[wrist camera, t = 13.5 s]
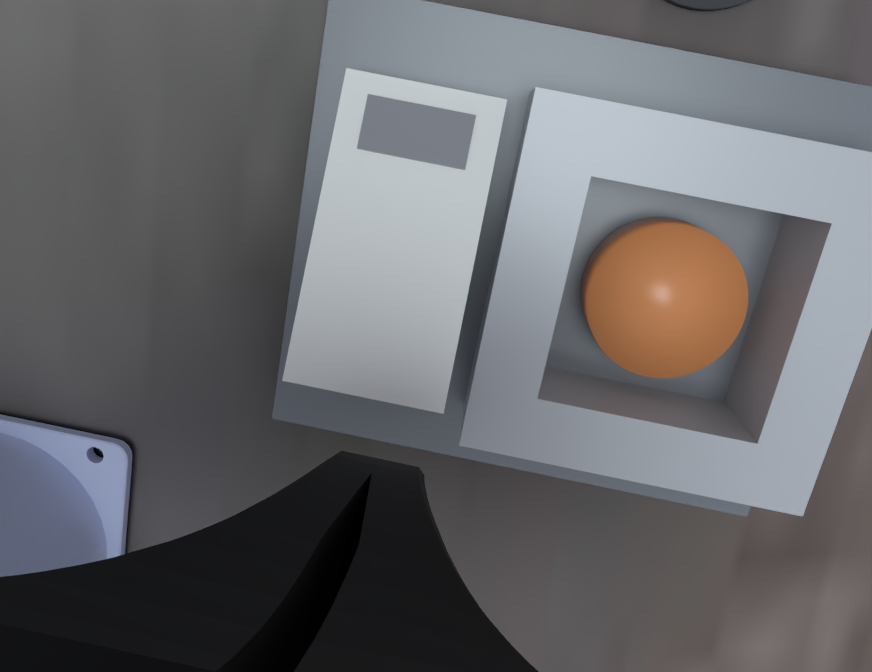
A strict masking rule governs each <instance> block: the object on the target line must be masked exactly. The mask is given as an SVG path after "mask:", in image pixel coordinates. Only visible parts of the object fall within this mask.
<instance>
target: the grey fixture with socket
mask: <svg viewBox="0 0 872 672" xmlns="http://www.w3.org/2000/svg"><path fill="white" fill-rule="evenodd" d="M346 68H349V69H354V70H359V71H365V72H370V73H375V74H380V75H385V76H390V77H395V78H400V79H406V80H411V81H416V82H421V83H426V84H431V85H436V86H441V87H447V88H452V89H457V90H462V91H467V92H472V93H477V94H482V95H488V96H493V97H498V98H503V99H507V104H506V109H505V114H504V118H503V123H502V128H501V133H500V138H499V143H498V148H497V153H496V158H495V163H494V168H493V173H492V178H491V182H490V187H489V192H488V197H487V202H486V207H485V212H484V217H483V222H482V227H481V232H480V237H479V242H478V247H477V251H476V256H475V261H474V266H473V271H472V276H471V281H470V286H469V291H468V296H467V301H466V306H465V311H464V315H463V320H462V325H461V330H460V335H459V340H458V345H457V350H456V355H455V360H454V365H453V370H452V375H451V380H450V384H449V389H448V394H447V399H446V404H445V409H444V414H442V413H437V412H432V411H427V410H422V409H417V408H413V407H408V406H403V405H398V404H393V403H388V402H383V401H378V400H374V399H369V398H364V397H359V396H354V395H349V394H344V393H340V392H335V391H330V390H325V389H320V388H315V387H310V386H305V385H301V384H296V383H291V382H286V381H282V379H283V374H284V369H285V364H286V359H287V355H288V350H289V345H290V340H291V335H292V330H293V325H294V320H295V316H296V311H297V306H298V301H299V296H300V291H301V286H302V281H303V277H304V272H305V267H306V262H307V257H308V252H309V247H310V242H311V238H312V233H313V228H314V223H315V218H316V213H317V208H318V203H319V199H320V194H321V189H322V184H323V179H324V174H325V169H326V164H327V159H328V155H329V150H330V145H331V140H332V135H333V130H334V125H335V120H336V116H337V111H338V106H339V101H340V96H341V91H342V86H343V81H344V77H345V72H346ZM652 217H668V218H675V219H679V220H682V221H685V222H688V223H690V224H693V225H695V226H697V227H698V228H700V229H702V230H704V231H706V232H708V233H710V234H711V235H713V236H715V237H716V238H718V239H719V240H720V241H722V242H723V243H724V244H725V245H726V246H727V247H728V248H729V249H730V250H731V251H732V252H733V253H734V255H735V256H736V258H737V259H738V260H739V262H740V264H741V266H742V268H743V271H744V274H745V277H746V281H747V286H748V308H747V313H746V317H745V320H744V323H743V325H742V328H741V330H740V332H739V334H738V336H737V337H736V339H735V340H734V342H733V343H732V344H731V346H730V347H729V348H728V349H727V350H726V351H725V352H724V354H722V355H721V356H720V357H719V358H718V359H717V360H715V361H714V362H712V363H711V364H709V365H708V366H706V367H704V368H702V369H700V370H698V371H696V372H693V373H691V374H688V375H684V376H680V377H674V378H652V377H645V376H642V375H638V374H635V373H633V372H630V371H628V370H626V369H624V368H622V367H621V366H619V365H618V364H616V363H615V362H614V361H612V360H611V359H610V358H609V357H608V356H607V355H606V354H605V353H604V352H603V350H602V349H601V348H600V346H599V345H598V343H597V342H596V340H595V338H594V336H593V334H592V332H591V329H590V327H589V325H588V323H587V320H586V318H585V315H584V312H583V308H582V304H581V283H582V277H583V274H584V270H585V267H586V265H587V263H588V261H589V259H590V257H591V255H592V254H593V252H594V251H595V249H596V248H597V247H598V246H599V245H600V243H601V242H602V241H603V240H604V239H605V238H607V237H608V236H609V235H610V234H611V233H613V232H614V231H616V230H617V229H619V228H621V227H622V226H624V225H626V224H629V223H631V222H634V221H637V220H641V219H645V218H652ZM871 329H872V87H870V86H865V85H860V84H855V83H849V82H844V81H839V80H834V79H829V78H823V77H818V76H813V75H808V74H803V73H797V72H792V71H787V70H782V69H777V68H771V67H766V66H761V65H756V64H751V63H745V62H740V61H735V60H730V59H725V58H719V57H714V56H709V55H704V54H699V53H693V52H688V51H683V50H678V49H673V48H667V47H662V46H657V45H652V44H647V43H642V42H636V41H631V40H626V39H621V38H616V37H610V36H605V35H600V34H595V33H590V32H584V31H579V30H574V29H569V28H564V27H558V26H553V25H548V24H543V23H538V22H532V21H527V20H522V19H517V18H512V17H506V16H501V15H496V14H491V13H486V12H480V11H475V10H470V9H465V8H460V7H454V6H449V5H444V4H439V3H434V2H428V1H423V0H329V1H328V8H327V16H326V23H325V31H324V38H323V45H322V53H321V60H320V67H319V75H318V82H317V90H316V97H315V104H314V112H313V119H312V126H311V134H310V141H309V149H308V156H307V163H306V171H305V178H304V185H303V193H302V200H301V208H300V215H299V222H298V230H297V237H296V245H295V252H294V259H293V267H292V274H291V281H290V289H289V296H288V304H287V311H286V318H285V326H284V333H283V340H282V348H281V355H280V363H279V370H278V377H277V385H276V392H275V399H274V407H273V414H272V419H276V420H281V421H286V422H290V423H295V424H300V425H305V426H310V427H315V428H319V429H324V430H329V431H334V432H339V433H344V434H348V435H353V436H358V437H363V438H368V439H373V440H377V441H382V442H387V443H392V444H397V445H402V446H406V447H411V448H416V449H421V450H426V451H431V452H436V453H440V454H445V455H450V456H455V457H460V458H465V459H469V460H474V461H479V462H484V463H489V464H494V465H498V466H503V467H508V468H513V469H518V470H523V471H527V472H532V473H537V474H542V475H547V476H552V477H556V478H561V479H566V480H571V481H576V482H581V483H585V484H590V485H595V486H600V487H605V488H610V489H614V490H619V491H624V492H629V493H634V494H639V495H643V496H648V497H653V498H658V499H663V500H668V501H673V502H677V503H682V504H687V505H692V506H697V507H702V508H706V509H711V510H716V511H721V512H726V513H731V514H735V515H740V516H745V517H747V516H748V513H749V510H750V507H751V506H754V507H759V508H764V509H769V510H774V511H779V512H784V513H788V514H793V515H798V516H803V514H804V511H805V509H806V506H807V503H808V500H809V498H810V495H811V492H812V490H813V487H814V484H815V481H816V479H817V476H818V473H819V470H820V468H821V465H822V462H823V460H824V457H825V454H826V451H827V449H828V446H829V443H830V440H831V438H832V435H833V432H834V430H835V427H836V424H837V421H838V419H839V416H840V413H841V410H842V408H843V405H844V402H845V400H846V397H847V394H848V391H849V389H850V386H851V383H852V380H853V378H854V375H855V372H856V370H857V367H858V364H859V361H860V359H861V356H862V353H863V350H864V348H865V345H866V342H867V339H868V337H869V334H870V331H871Z"/></svg>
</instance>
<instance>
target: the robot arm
mask: <svg viewBox="0 0 872 672" xmlns="http://www.w3.org/2000/svg"><path fill="white" fill-rule="evenodd" d="M93 447H96V448H99V449H100V450H101V451H102V452H103V456H104V457H99V456H97V455H96V454H95V453H94V450H93ZM131 470H132V451H131V449H130V447H129V445H128V444H126V443H125V442H124V441H122V440H119V439H116V438H111V437H107V436H102V435H97V434H92V433H87V432H83V431H78V430H73V429H68V428H63V427H59V426H54V425H49V424H44V423H39V422H35V421H30V420H25V419H20V418H15V417H11V416H6V415H1V414H0V672H538V671H537V670H536V669H535V668H534V667H533V666H532V665H530V664H529V663H528V662H527V661H526V660H525V659H524V658H523V657H522V656H521V655H520V654H519V653H518V651H517V650H516V649H515V648H514V647H513V646H512V645H511V644H510V643H509V642H508V641H507V640H506V639H505V637H504V636H503V635H502V634H501V633H500V632H499V630H498V629H497V628H496V627H495V626H494V625H493V624H492V622H491V621H490V620H489V619H488V618H487V616H486V615H485V614H484V612H483V611H482V610H481V609H480V607H479V606H478V604H477V603H476V601H475V600H474V598H473V597H472V595H471V594H470V592H469V590H468V589H467V587H466V586H465V584H464V582H463V580H462V579H461V577H460V575H459V573H458V572H457V570H456V568H455V566H454V564H453V562H452V560H451V558H450V556H449V554H448V552H447V550H446V547H445V545H444V543H443V541H442V538H441V536H440V533H439V531H438V528H437V526H436V523H435V520H434V518H433V515H432V512H431V509H430V505H429V502H428V498H427V494H426V490H425V484H424V474H423V473H422V471H421V470H420V468H419V467H415V466H410V465H406V464H401V463H396V462H391V461H387V460H382V459H377V458H372V457H368V456H363V455H358V454H353V453H349V452H344V451H341V452H339V453H338V454H336V455H334V456H333V457H331V458H330V459H328V460H326V461H325V462H323V463H322V464H320V465H319V466H317V467H316V468H315V469H313V470H312V471H310V472H309V473H307V474H306V475H304V476H303V477H301V478H299V479H298V480H296V481H295V482H293V483H292V484H290V485H288V486H287V487H285V488H283V489H282V490H280V491H279V492H277V493H275V494H274V495H272V496H270V497H268V498H266V499H265V500H263V501H261V502H259V503H257V504H255V505H253V506H251V507H250V508H248V509H246V510H244V511H242V512H240V513H238V514H236V515H234V516H232V517H230V518H228V519H226V520H223V521H221V522H219V523H216V524H214V525H212V526H209V527H207V528H204V529H202V530H199V531H196V532H194V533H191V534H189V535H186V536H183V537H181V538H178V539H175V540H172V541H169V542H165V543H162V544H158V545H155V546H151V547H148V548H145V549H141V550H138V551H134V552H131V553H127V554H125V545H126V532H127V520H128V507H129V495H130V482H131Z"/></svg>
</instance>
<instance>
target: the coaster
mask: <svg viewBox="0 0 872 672" xmlns="http://www.w3.org/2000/svg"><path fill="white" fill-rule="evenodd" d="M665 1H667V2H669V3H672V4H674V5H676V6H679V7H683V8H686V9H691V10H699V11H714V10H721V9H727V8H730V7H734V6H737V5H740V4H742V3H745V2H747V1H749V0H665Z"/></svg>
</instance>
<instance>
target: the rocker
mask: <svg viewBox="0 0 872 672" xmlns="http://www.w3.org/2000/svg"><path fill="white" fill-rule="evenodd" d="M506 104H507V99H503V98H498V97H493V96H488V95H482V94H477V93H472V92H467V91H462V90H457V89H452V88H447V87H441V86H436V85H431V84H426V83H421V82H416V81H411V80H406V79H400V78H395V77H390V76H385V75H380V74H375V73H370V72H365V71H359V70H354V69H349V68H346V72H345V77H344V81H343V86H342V91H341V96H340V101H339V106H338V111H337V116H336V120H335V125H334V130H333V135H332V140H331V145H330V150H329V155H328V159H327V164H326V169H325V174H324V179H323V184H322V189H321V194H320V199H319V203H318V208H317V213H316V218H315V223H314V228H313V233H312V238H311V242H310V247H309V252H308V257H307V262H306V267H305V272H304V277H303V281H302V286H301V291H300V296H299V301H298V306H297V311H296V316H295V320H294V325H293V330H292V335H291V340H290V345H289V350H288V355H287V359H286V364H285V369H284V374H283V379H282V381H286V382H291V383H296V384H301V385H305V386H310V387H315V388H320V389H325V390H330V391H335V392H340V393H344V394H349V395H354V396H359V397H364V398H369V399H374V400H378V401H383V402H388V403H393V404H398V405H403V406H408V407H413V408H417V409H422V410H427V411H432V412H437V413H442V414H444V409H445V404H446V399H447V394H448V389H449V384H450V380H451V375H452V370H453V365H454V360H455V355H456V350H457V345H458V340H459V335H460V330H461V325H462V320H463V315H464V311H465V306H466V301H467V296H468V291H469V286H470V281H471V276H472V271H473V266H474V261H475V256H476V251H477V247H478V242H479V237H480V232H481V227H482V222H483V217H484V212H485V207H486V202H487V197H488V192H489V187H490V182H491V178H492V173H493V168H494V163H495V158H496V153H497V148H498V143H499V138H500V133H501V128H502V123H503V118H504V114H505V109H506Z"/></svg>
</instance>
